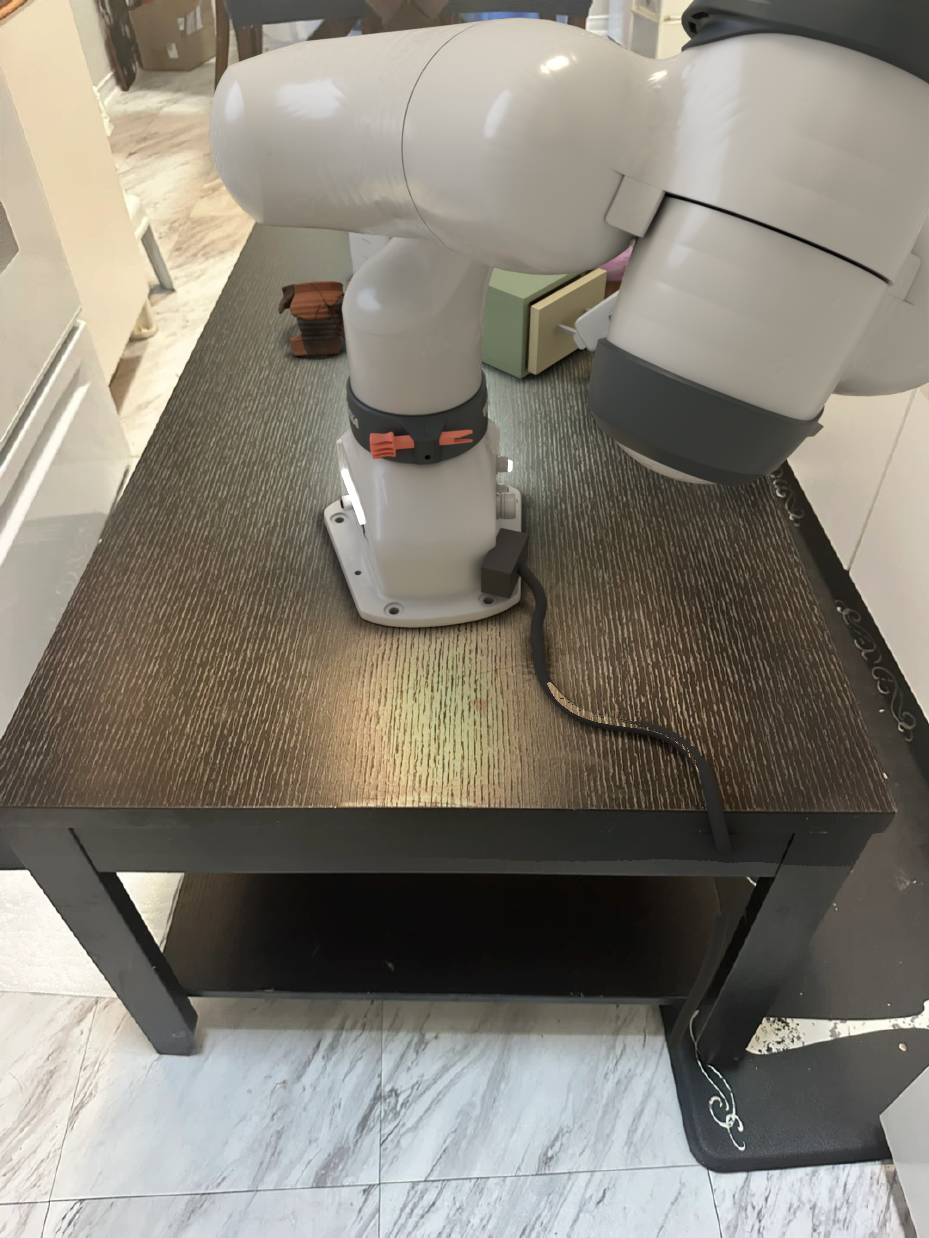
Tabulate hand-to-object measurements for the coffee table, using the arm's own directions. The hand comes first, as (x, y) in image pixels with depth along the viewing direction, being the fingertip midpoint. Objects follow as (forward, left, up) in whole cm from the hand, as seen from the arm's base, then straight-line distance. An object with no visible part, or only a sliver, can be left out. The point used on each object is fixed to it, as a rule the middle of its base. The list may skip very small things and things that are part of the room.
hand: (605, 325), depth 98 cm
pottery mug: (+13, +31, -6) cm, 34 cm away
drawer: (+8, +7, -5) cm, 11 cm away
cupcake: (+15, -5, -6) cm, 17 cm away
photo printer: (+26, +23, -6) cm, 35 cm away
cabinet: (+11, +9, -6) cm, 16 cm away
